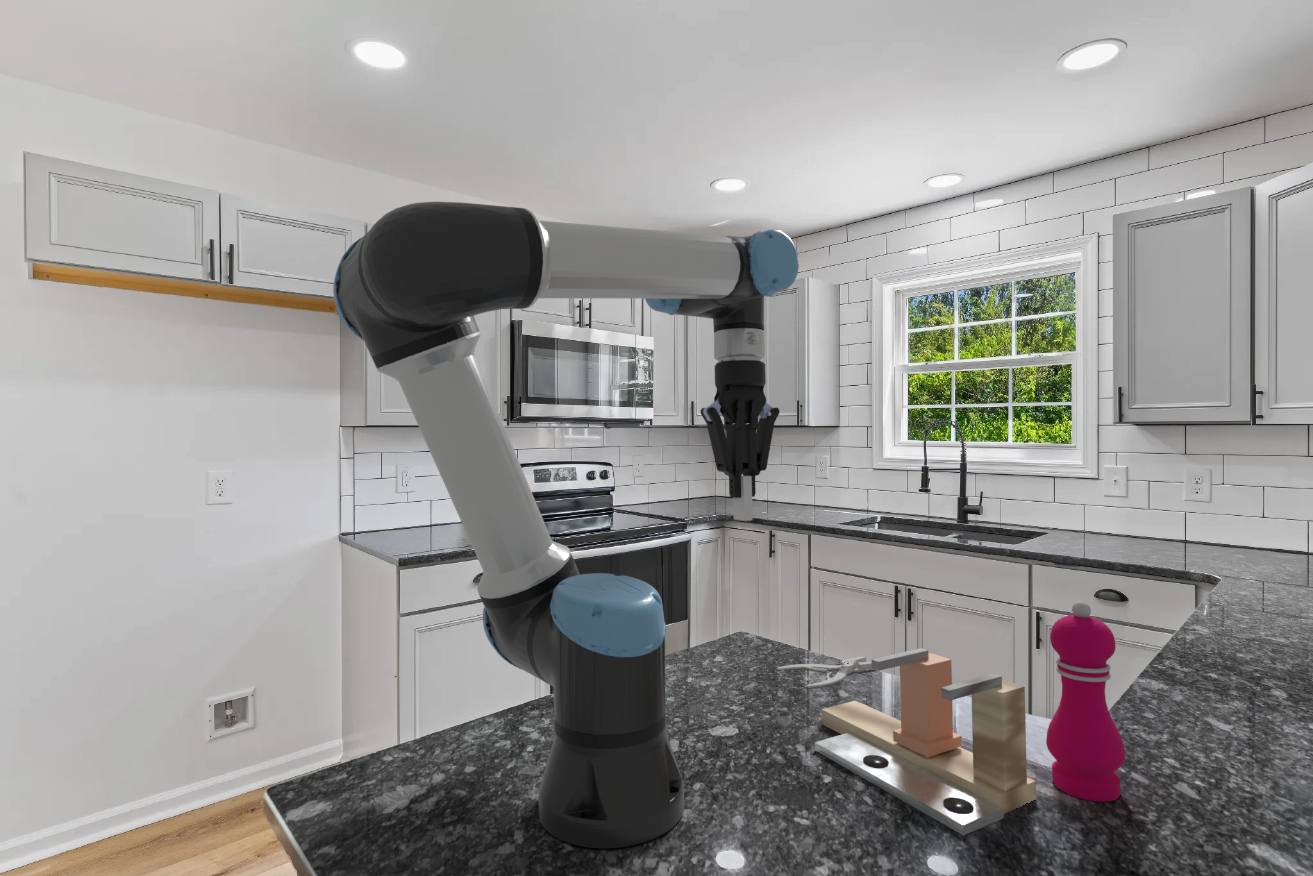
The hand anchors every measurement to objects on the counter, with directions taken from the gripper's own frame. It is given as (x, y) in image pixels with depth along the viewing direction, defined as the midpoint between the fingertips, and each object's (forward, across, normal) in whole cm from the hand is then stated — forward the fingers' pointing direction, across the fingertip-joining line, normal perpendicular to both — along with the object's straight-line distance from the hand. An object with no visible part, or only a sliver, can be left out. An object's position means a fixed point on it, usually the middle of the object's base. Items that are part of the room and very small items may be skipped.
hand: (742, 519), depth 102 cm
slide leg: (+24, +3, -28) cm, 37 cm away
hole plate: (+26, 0, -29) cm, 39 cm away
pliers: (+27, +18, +2) cm, 33 cm away
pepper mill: (+27, +16, -40) cm, 51 cm away
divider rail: (+26, +3, -26) cm, 37 cm away
